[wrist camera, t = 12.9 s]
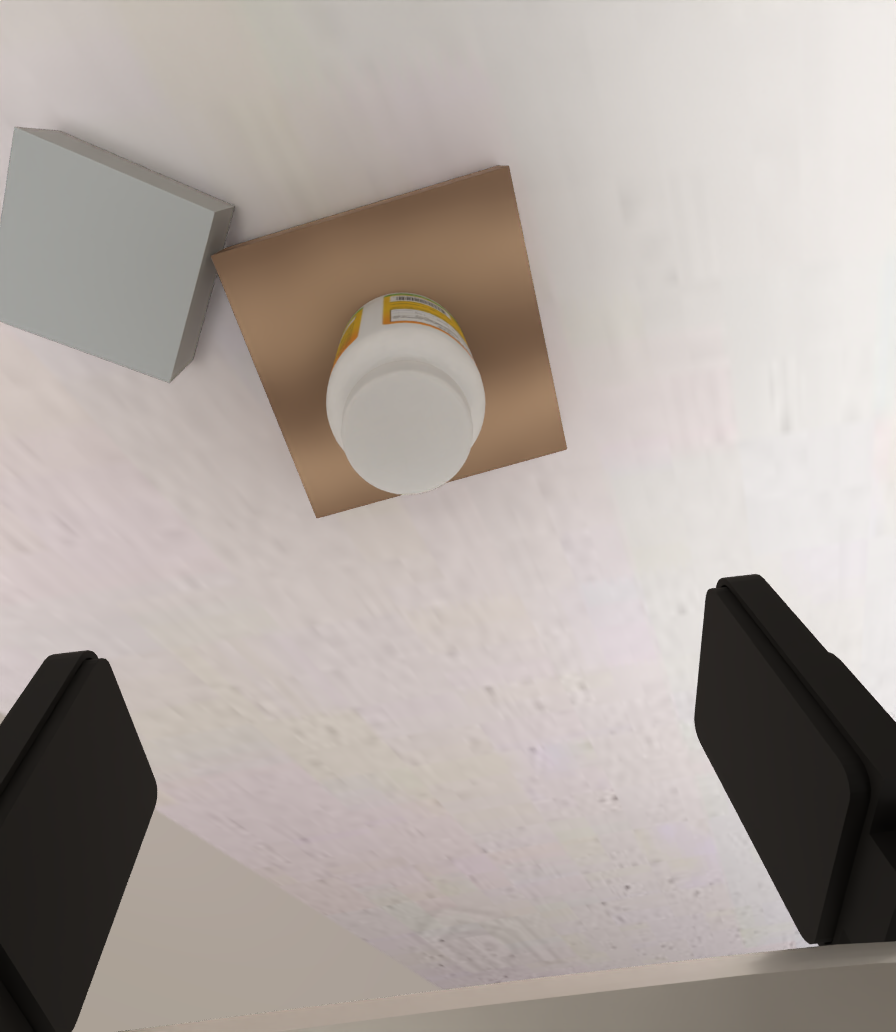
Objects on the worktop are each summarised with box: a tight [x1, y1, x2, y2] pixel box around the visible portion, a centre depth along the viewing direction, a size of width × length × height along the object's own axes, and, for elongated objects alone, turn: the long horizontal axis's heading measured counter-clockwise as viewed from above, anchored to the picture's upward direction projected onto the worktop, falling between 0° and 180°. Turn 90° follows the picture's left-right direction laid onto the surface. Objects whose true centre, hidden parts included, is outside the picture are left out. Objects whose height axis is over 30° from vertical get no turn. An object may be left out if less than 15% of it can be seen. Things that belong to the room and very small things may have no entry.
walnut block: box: [211, 165, 567, 518], centre depth 31 cm, size 12×12×3 cm
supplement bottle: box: [326, 293, 485, 495], centre depth 25 cm, size 5×5×10 cm
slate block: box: [0, 127, 235, 383], centre depth 28 cm, size 7×7×4 cm
